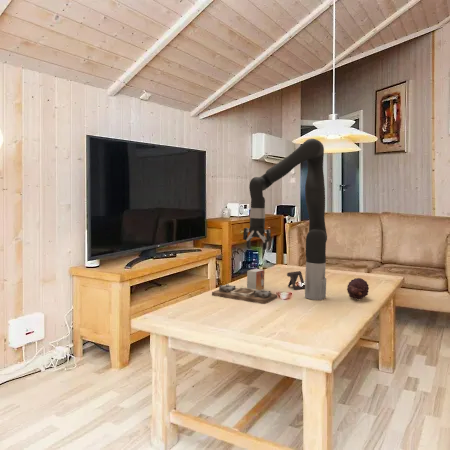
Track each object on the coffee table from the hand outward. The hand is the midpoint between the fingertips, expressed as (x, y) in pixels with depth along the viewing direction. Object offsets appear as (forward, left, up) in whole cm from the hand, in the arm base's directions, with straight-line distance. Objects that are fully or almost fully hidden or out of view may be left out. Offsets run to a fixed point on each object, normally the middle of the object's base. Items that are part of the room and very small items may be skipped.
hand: (256, 249), depth 215 cm
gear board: (-1, +14, -21) cm, 25 cm away
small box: (0, 0, -21) cm, 21 cm away
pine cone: (-48, -13, -21) cm, 54 cm away
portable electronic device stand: (-15, -18, -22) cm, 32 cm away
